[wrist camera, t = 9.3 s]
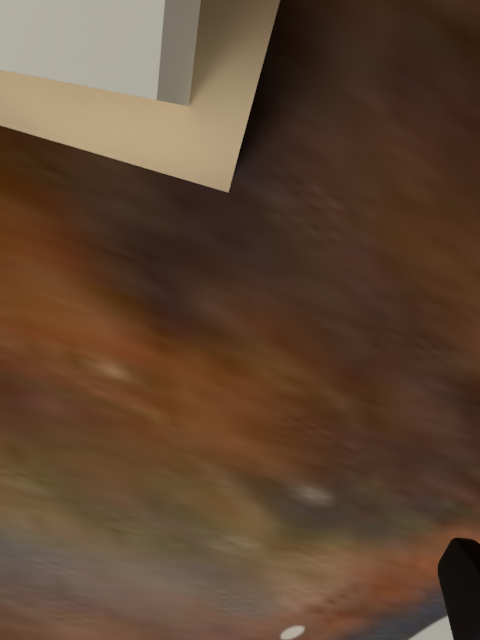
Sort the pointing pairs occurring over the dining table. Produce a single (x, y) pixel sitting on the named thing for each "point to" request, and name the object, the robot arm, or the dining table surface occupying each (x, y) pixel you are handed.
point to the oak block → (160, 103)
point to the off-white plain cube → (104, 44)
